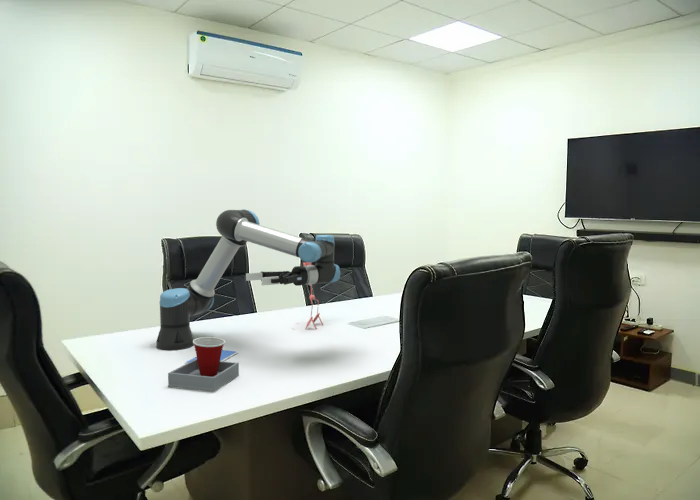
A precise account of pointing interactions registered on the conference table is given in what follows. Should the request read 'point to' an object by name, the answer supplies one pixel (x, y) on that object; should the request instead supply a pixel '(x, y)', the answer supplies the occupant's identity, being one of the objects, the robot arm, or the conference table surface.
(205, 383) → the bin
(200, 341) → the plastic cup
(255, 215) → the robot arm
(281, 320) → the conference table surface
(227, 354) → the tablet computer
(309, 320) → the figurine
